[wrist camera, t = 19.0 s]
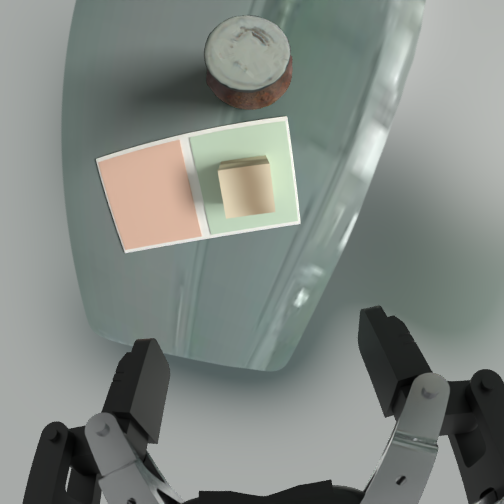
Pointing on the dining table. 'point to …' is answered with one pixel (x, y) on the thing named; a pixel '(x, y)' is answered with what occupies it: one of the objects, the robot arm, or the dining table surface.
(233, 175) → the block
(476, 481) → the robot arm
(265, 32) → the sauce bottle
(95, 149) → the dining table surface
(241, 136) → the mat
